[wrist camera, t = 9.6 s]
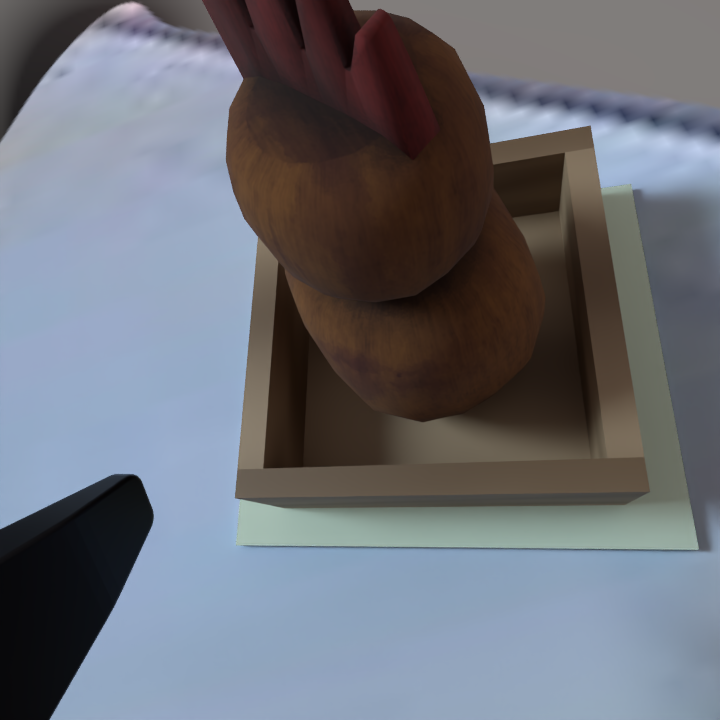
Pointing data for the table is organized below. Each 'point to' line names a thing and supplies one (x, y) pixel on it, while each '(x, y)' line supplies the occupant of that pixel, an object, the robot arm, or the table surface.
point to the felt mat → (536, 523)
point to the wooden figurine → (379, 202)
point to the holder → (486, 420)
